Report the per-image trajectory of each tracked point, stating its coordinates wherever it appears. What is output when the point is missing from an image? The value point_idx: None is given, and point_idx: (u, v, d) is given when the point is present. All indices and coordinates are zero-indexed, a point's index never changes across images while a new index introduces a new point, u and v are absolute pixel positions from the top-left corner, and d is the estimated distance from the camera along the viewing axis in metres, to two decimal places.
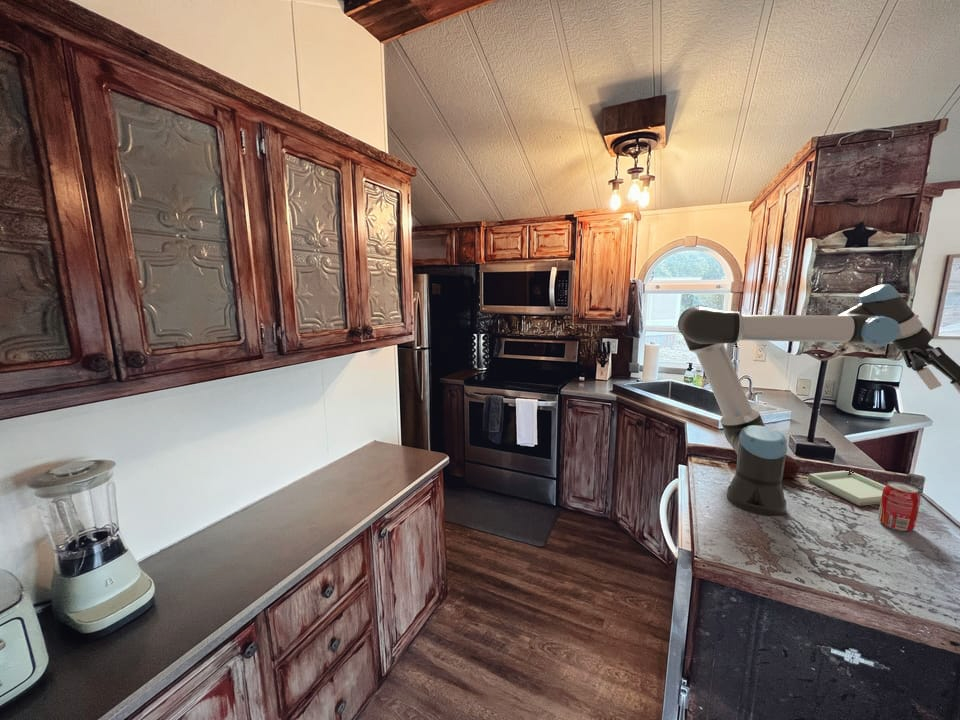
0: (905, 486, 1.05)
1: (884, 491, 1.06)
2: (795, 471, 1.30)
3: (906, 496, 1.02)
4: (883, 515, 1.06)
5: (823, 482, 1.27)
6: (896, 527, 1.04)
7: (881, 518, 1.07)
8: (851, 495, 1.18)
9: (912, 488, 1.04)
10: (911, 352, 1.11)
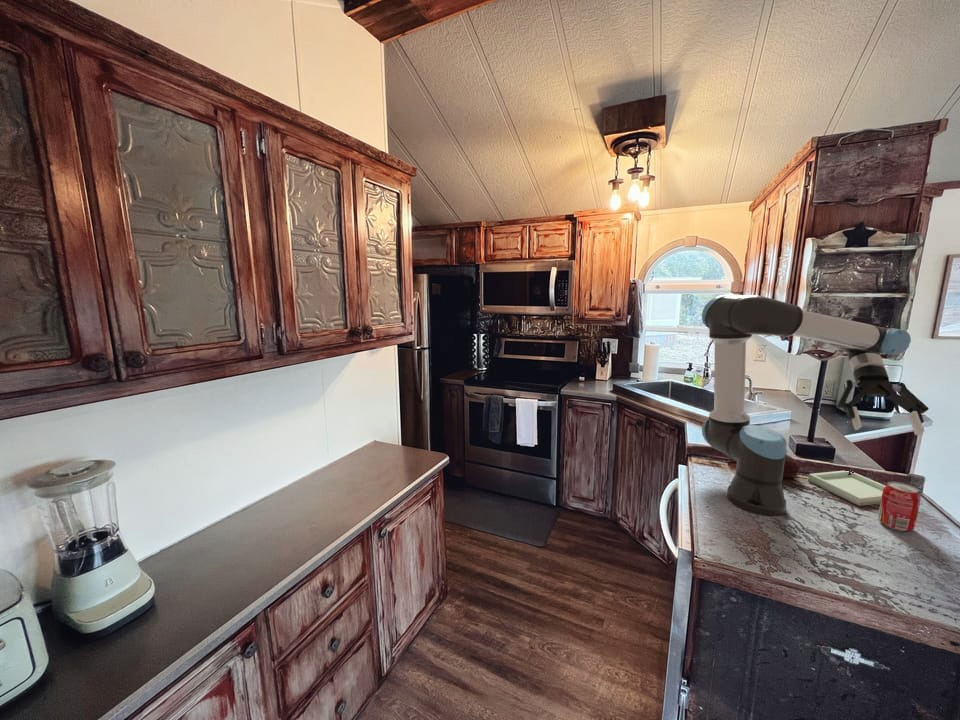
0: (905, 486, 1.05)
1: (884, 491, 1.06)
2: (795, 471, 1.30)
3: (906, 496, 1.02)
4: (883, 515, 1.06)
5: (823, 482, 1.27)
6: (896, 527, 1.04)
7: (881, 518, 1.07)
8: (851, 495, 1.18)
9: (912, 488, 1.04)
10: None
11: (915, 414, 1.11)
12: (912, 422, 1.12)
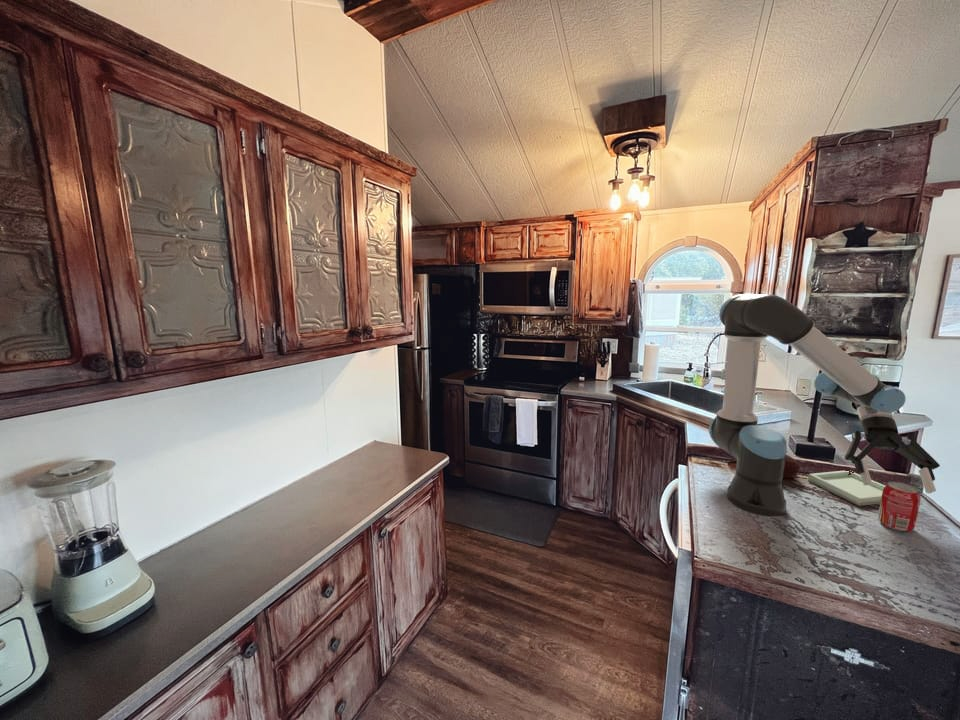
0: (905, 486, 1.05)
1: (884, 491, 1.06)
2: (795, 471, 1.30)
3: (906, 496, 1.02)
4: (883, 515, 1.06)
5: (823, 482, 1.27)
6: (896, 527, 1.04)
7: (881, 518, 1.07)
8: (851, 495, 1.18)
9: (912, 488, 1.04)
10: None
11: (926, 471, 1.07)
12: (923, 479, 1.08)
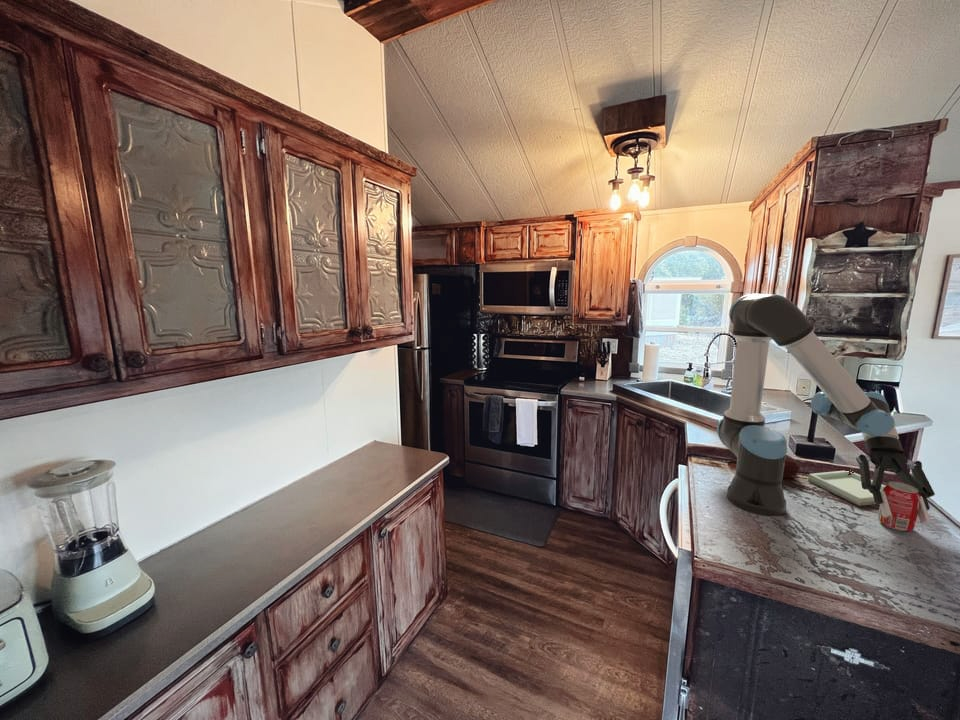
0: (905, 486, 1.05)
1: None
2: (795, 471, 1.30)
3: (906, 496, 1.02)
4: None
5: (823, 482, 1.27)
6: (896, 527, 1.04)
7: (881, 518, 1.07)
8: (851, 495, 1.18)
9: (912, 488, 1.04)
10: None
11: (920, 500, 1.03)
12: None
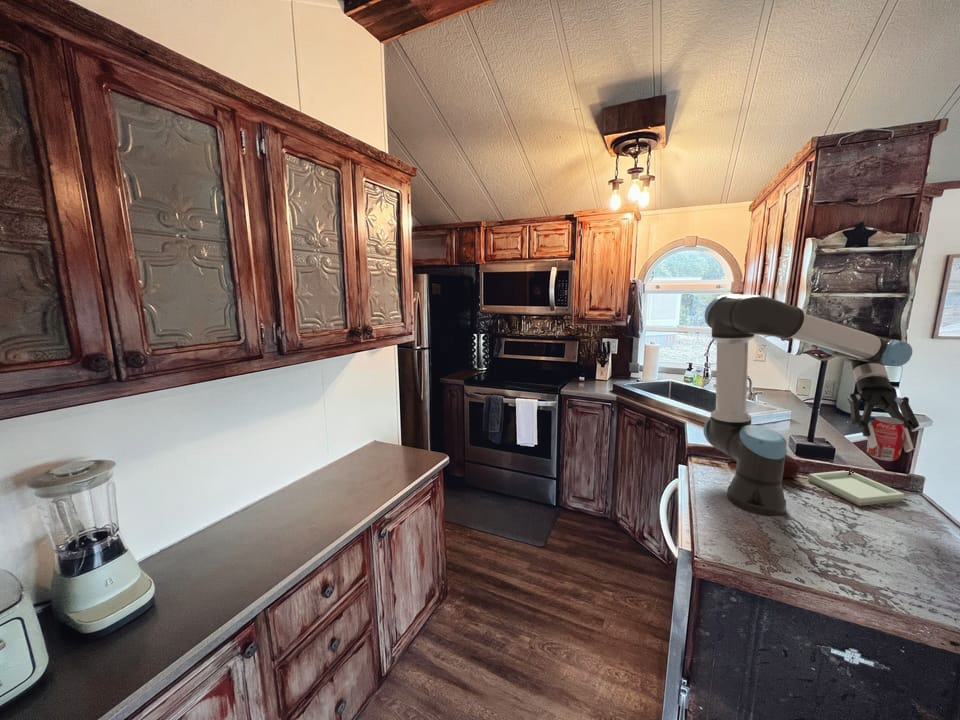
0: (891, 419, 1.13)
1: (872, 425, 1.14)
2: (795, 471, 1.30)
3: (891, 427, 1.10)
4: None
5: (823, 482, 1.27)
6: (882, 457, 1.12)
7: (869, 450, 1.15)
8: (851, 495, 1.18)
9: (898, 420, 1.12)
10: None
11: (905, 431, 1.11)
12: None
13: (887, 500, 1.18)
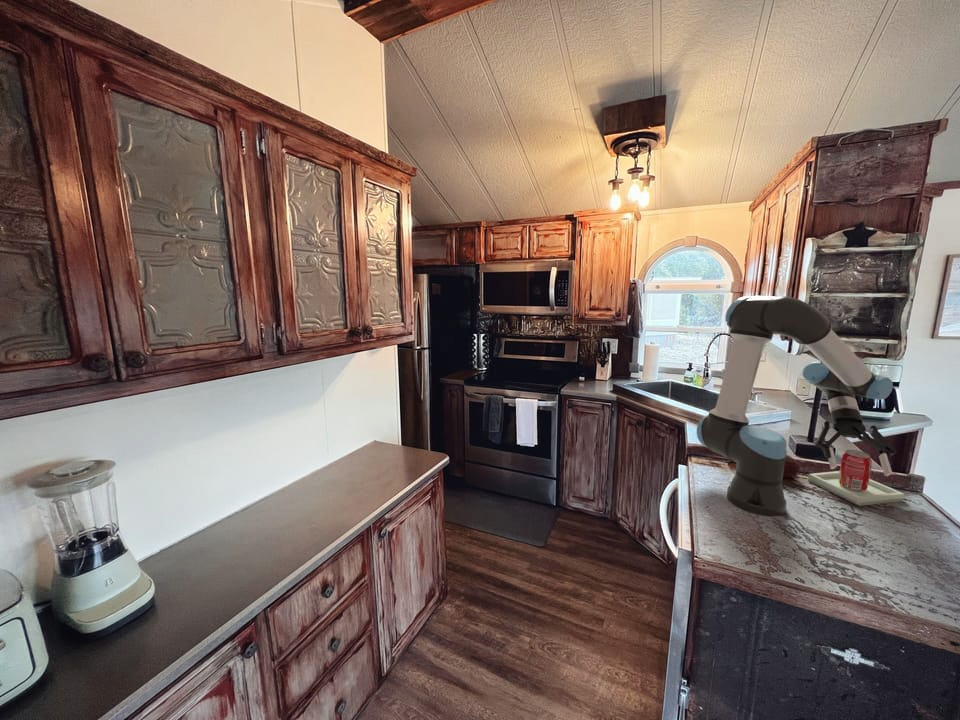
0: (860, 453, 1.24)
1: (842, 457, 1.25)
2: (795, 471, 1.30)
3: (859, 460, 1.21)
4: (841, 478, 1.25)
5: (823, 482, 1.27)
6: (852, 487, 1.23)
7: (840, 480, 1.26)
8: (851, 495, 1.18)
9: (865, 454, 1.23)
10: None
11: (884, 456, 1.21)
12: (882, 463, 1.22)
13: (887, 500, 1.18)
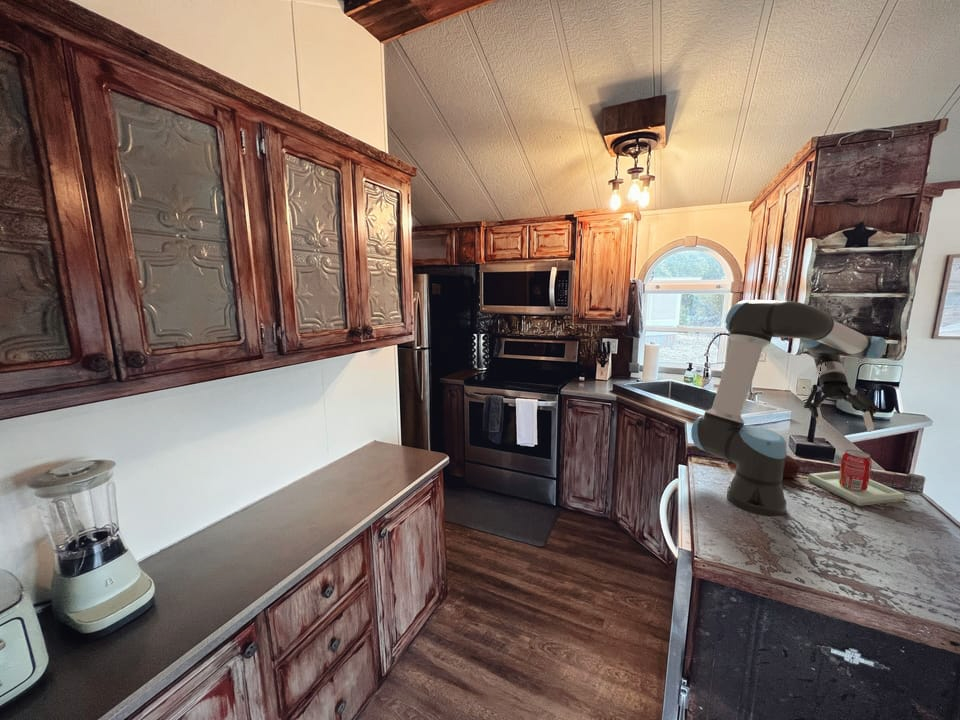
0: (860, 453, 1.24)
1: (842, 457, 1.25)
2: (795, 471, 1.30)
3: (859, 460, 1.21)
4: (841, 478, 1.25)
5: (823, 482, 1.27)
6: (852, 487, 1.23)
7: (840, 480, 1.26)
8: (851, 495, 1.18)
9: (865, 454, 1.23)
10: None
11: (868, 414, 1.31)
12: (865, 420, 1.32)
13: (887, 500, 1.18)
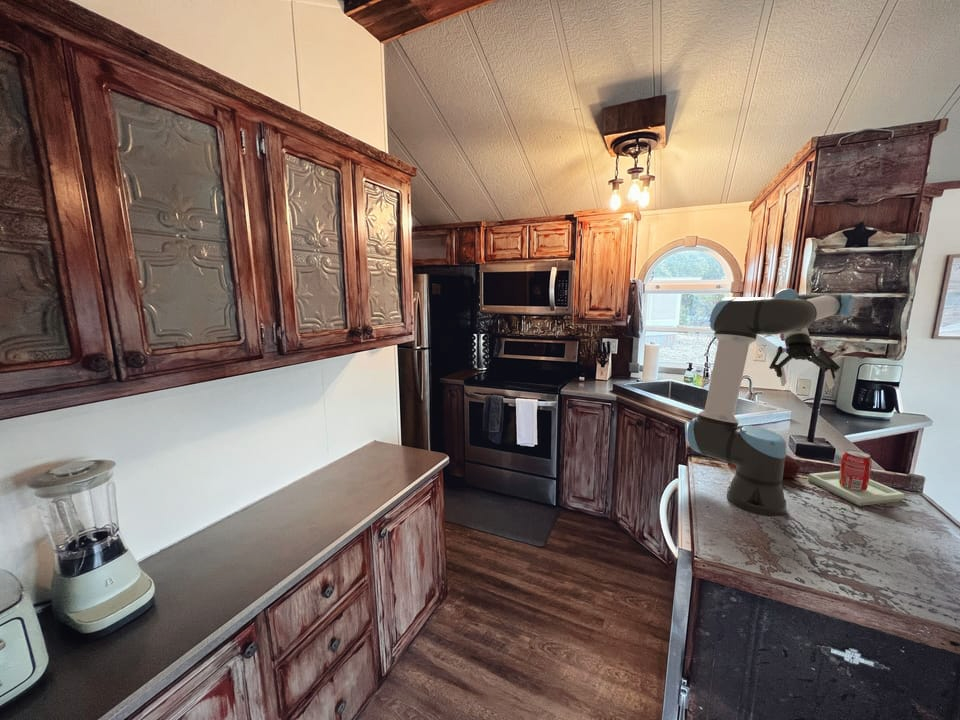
0: (860, 453, 1.24)
1: (842, 457, 1.25)
2: (795, 471, 1.30)
3: (859, 460, 1.21)
4: (841, 478, 1.25)
5: (823, 482, 1.27)
6: (852, 487, 1.23)
7: (840, 480, 1.26)
8: (851, 495, 1.18)
9: (865, 454, 1.23)
10: None
11: (829, 372, 1.35)
12: (827, 378, 1.36)
13: (887, 500, 1.18)
